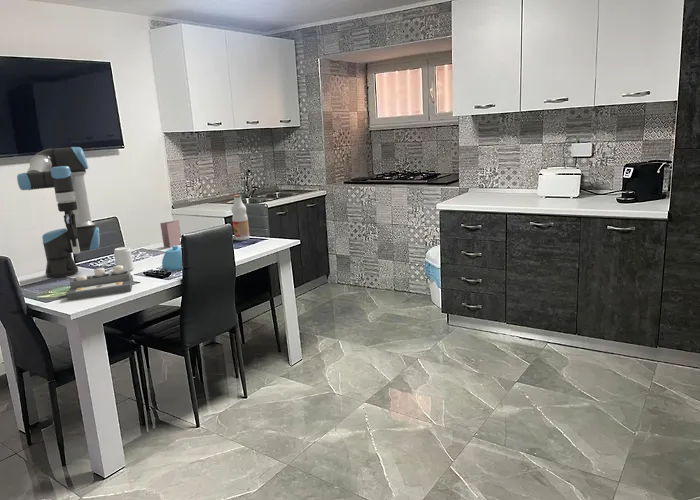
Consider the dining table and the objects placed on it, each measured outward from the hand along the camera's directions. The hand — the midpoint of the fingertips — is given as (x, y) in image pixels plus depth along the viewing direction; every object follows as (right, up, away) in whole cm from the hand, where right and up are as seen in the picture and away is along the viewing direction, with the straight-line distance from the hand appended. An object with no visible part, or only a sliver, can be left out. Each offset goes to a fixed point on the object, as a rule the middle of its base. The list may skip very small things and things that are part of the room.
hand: (76, 253), depth 239 cm
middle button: (+8, -10, +5) cm, 14 cm away
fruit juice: (+55, +8, +97) cm, 112 cm away
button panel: (+10, -17, +4) cm, 20 cm away
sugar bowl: (+34, -8, +36) cm, 50 cm away
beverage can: (+7, -10, +37) cm, 39 cm away
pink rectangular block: (+14, +4, +90) cm, 92 cm away
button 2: (+16, -9, +7) cm, 20 cm away
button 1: (+1, -14, +3) cm, 14 cm away
